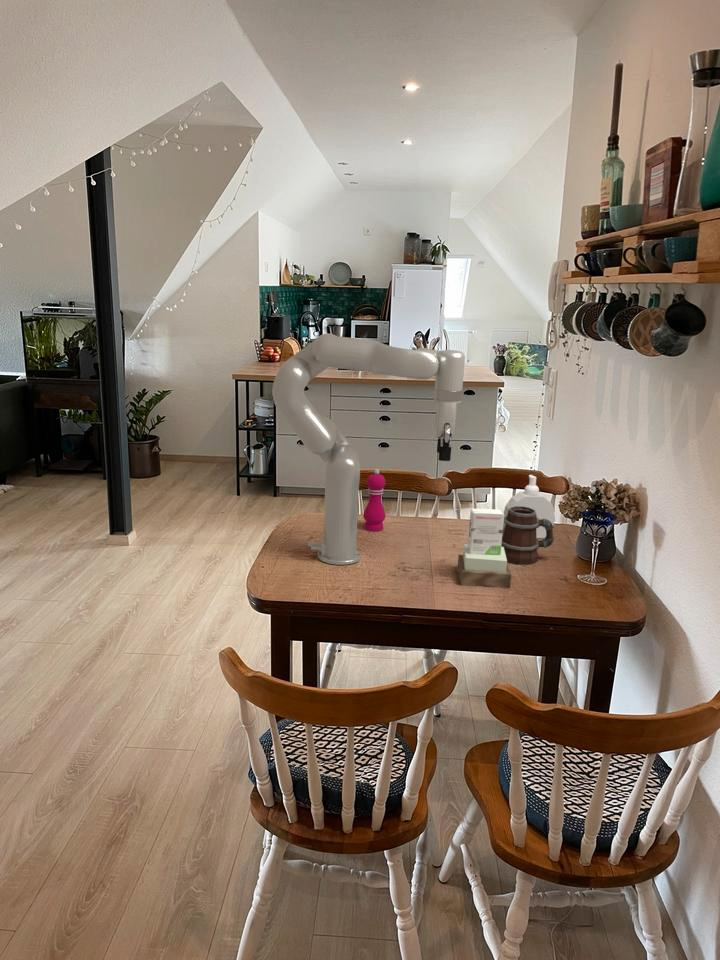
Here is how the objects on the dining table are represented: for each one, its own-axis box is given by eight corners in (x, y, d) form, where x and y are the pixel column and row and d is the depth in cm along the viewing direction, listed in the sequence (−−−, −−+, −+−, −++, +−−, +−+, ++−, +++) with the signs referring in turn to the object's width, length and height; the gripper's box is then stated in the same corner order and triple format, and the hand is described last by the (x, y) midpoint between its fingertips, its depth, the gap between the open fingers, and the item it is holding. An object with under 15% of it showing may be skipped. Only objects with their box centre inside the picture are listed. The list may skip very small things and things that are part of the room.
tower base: (461, 587, 198) (462, 571, 197) (457, 569, 211) (458, 554, 210) (509, 590, 198) (511, 574, 197) (502, 571, 210) (504, 557, 209)
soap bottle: (547, 533, 244) (553, 475, 239) (553, 538, 239) (560, 479, 234) (500, 533, 242) (506, 474, 237) (505, 538, 237) (511, 478, 232)
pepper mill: (361, 530, 238) (363, 471, 233) (364, 524, 245) (367, 465, 239) (383, 533, 237) (386, 472, 231) (386, 526, 244) (389, 467, 238)
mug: (498, 562, 216) (503, 514, 212) (497, 548, 227) (502, 502, 223) (553, 568, 214) (559, 519, 210) (549, 553, 225) (555, 507, 221)
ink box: (497, 549, 205) (501, 508, 202) (500, 555, 200) (504, 514, 197) (466, 547, 205) (470, 507, 202) (469, 554, 200) (473, 512, 197)
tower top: (464, 570, 198) (465, 557, 198) (463, 555, 209) (464, 543, 208) (505, 573, 198) (507, 561, 197) (502, 558, 208) (503, 546, 207)
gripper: (433, 390, 211) (428, 449, 215) (435, 400, 194) (431, 463, 198) (459, 392, 210) (454, 450, 215) (464, 401, 194) (459, 464, 198)
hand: (443, 456), depth 207 cm, fingers open, 9 cm apart
